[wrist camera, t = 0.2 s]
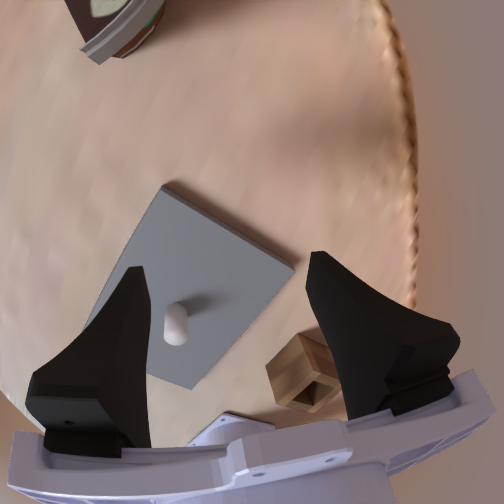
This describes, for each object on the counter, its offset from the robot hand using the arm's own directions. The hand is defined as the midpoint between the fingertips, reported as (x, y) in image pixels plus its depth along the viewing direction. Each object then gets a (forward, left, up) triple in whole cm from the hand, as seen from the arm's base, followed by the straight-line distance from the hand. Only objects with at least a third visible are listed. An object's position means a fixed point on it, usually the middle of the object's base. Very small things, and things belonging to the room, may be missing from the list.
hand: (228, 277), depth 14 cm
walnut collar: (-9, -16, -11) cm, 21 cm away
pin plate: (-9, -2, -11) cm, 14 cm away
